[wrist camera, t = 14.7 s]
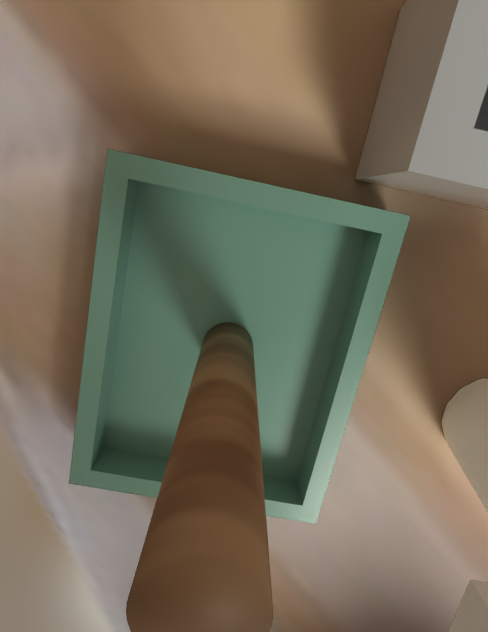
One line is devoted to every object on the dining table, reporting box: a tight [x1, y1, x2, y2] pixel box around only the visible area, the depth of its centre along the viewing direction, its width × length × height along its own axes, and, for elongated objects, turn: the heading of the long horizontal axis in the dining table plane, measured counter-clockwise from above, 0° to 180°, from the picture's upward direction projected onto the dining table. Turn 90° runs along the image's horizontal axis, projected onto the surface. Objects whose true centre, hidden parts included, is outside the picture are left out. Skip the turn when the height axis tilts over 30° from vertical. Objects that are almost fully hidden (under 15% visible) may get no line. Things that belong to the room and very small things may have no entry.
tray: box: [69, 149, 410, 524], centre depth 26 cm, size 20×16×4 cm
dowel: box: [126, 322, 273, 632], centre depth 18 cm, size 3×3×18 cm
